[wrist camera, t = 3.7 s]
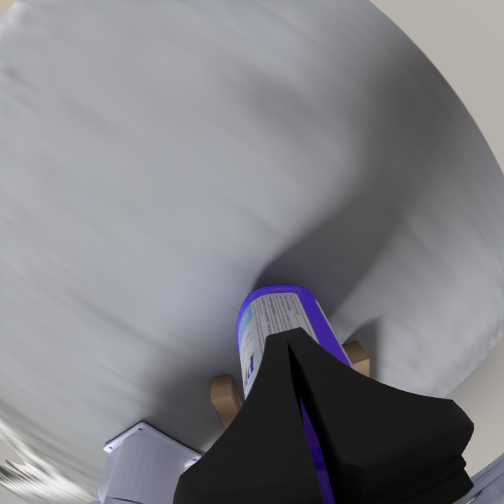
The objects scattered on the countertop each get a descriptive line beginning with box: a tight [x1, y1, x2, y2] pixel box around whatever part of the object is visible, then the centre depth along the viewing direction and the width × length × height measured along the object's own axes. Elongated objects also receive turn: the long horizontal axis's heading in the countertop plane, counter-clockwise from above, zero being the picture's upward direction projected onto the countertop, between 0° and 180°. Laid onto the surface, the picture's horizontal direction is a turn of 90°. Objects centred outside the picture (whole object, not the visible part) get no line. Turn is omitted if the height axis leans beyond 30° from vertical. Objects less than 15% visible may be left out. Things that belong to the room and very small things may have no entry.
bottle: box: [237, 285, 355, 504], centre depth 12 cm, size 7×6×17 cm
